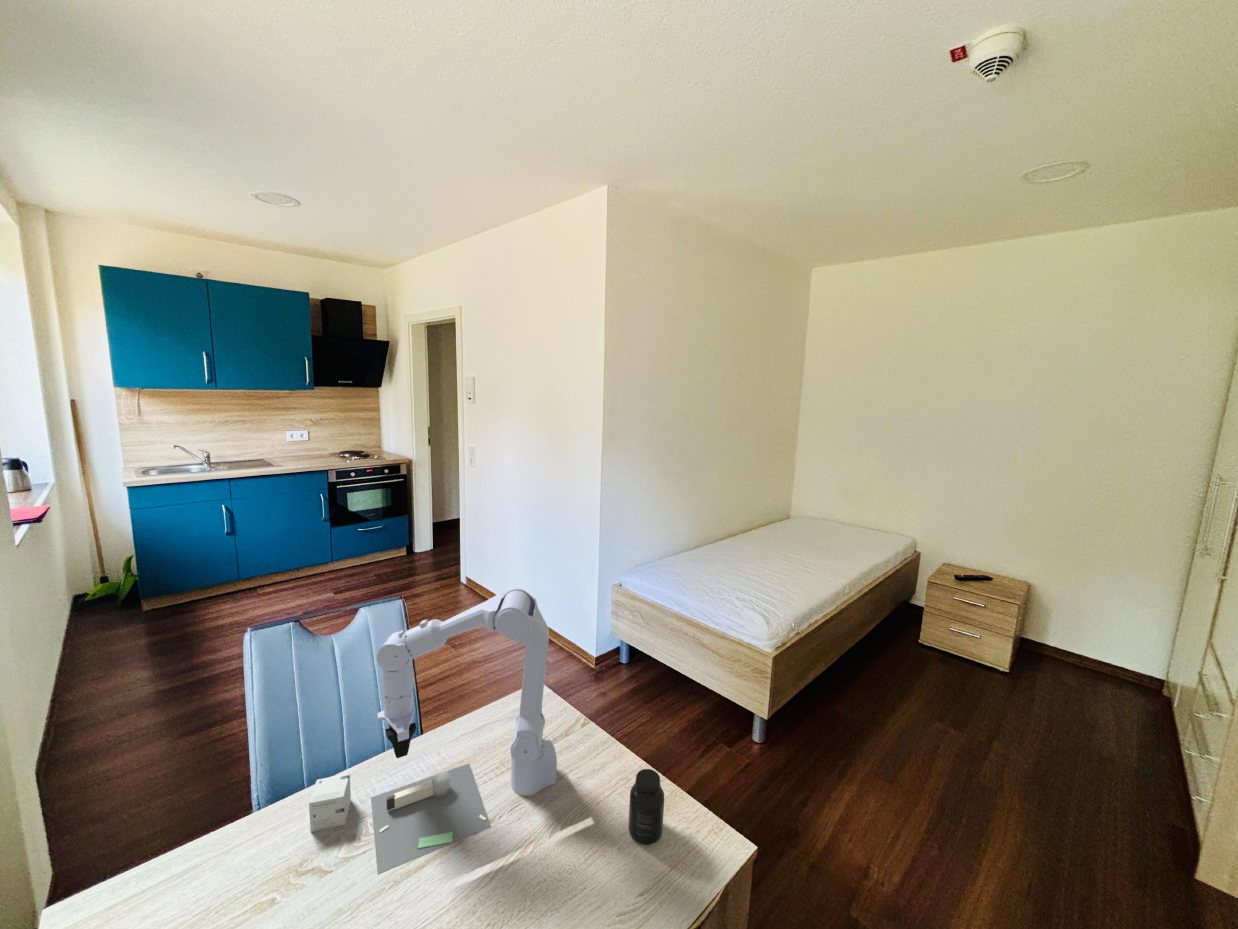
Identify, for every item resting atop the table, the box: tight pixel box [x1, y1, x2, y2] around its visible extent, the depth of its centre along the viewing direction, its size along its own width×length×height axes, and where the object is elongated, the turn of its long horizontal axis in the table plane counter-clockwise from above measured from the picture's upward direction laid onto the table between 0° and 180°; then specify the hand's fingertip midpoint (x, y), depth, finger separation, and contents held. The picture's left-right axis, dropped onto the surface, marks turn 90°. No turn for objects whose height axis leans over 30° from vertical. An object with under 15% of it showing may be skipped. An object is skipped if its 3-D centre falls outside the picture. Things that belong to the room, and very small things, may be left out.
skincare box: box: [308, 773, 352, 833], centre depth 96 cm, size 6×6×7 cm
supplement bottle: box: [628, 768, 665, 846], centre depth 96 cm, size 7×7×12 cm
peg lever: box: [386, 771, 450, 810], centre depth 101 cm, size 12×4×3 cm, turn 120°
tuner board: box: [370, 763, 492, 875], centre depth 98 cm, size 20×18×1 cm
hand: (400, 748), depth 103 cm, fingers open, 4 cm apart
